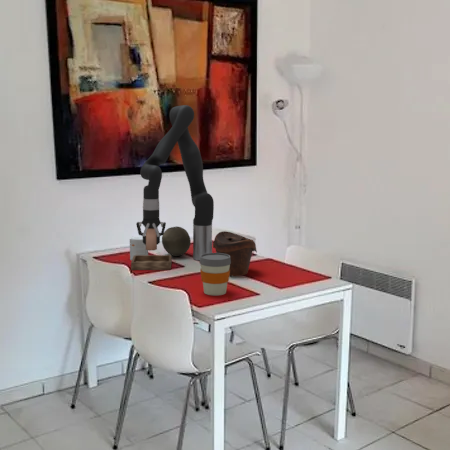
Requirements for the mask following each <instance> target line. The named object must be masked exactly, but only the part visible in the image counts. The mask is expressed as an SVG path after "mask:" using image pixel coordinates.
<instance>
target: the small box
mask: <svg viewBox="0 0 450 450" xmlns="http://www.w3.org/2000/svg"><path fill="white" fill-rule="evenodd" d="M134 255H149V250H146V244H144V243H143V236H132V237H130V238H129V260H130V261H132V259H133V256H134Z"/></svg>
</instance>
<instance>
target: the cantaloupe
mask: <svg viewBox="0 0 450 450" xmlns="http://www.w3.org/2000/svg"><path fill="white" fill-rule="evenodd" d="M191 242H192V241H191V237H190V235H189V232H188V231H187V230H186V229H185V228H184V227H181V226H170V227H168V228H166V229H165V230H164V234H163V235H162V236H161V243H162V247H163V249H164V251H165V252H166V253H167V254H168V255H172V256H174V257H180V256H183V255H184V254H186V253H187V252H188V251H189V249H190V247H191Z"/></svg>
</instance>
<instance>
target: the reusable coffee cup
mask: <svg viewBox="0 0 450 450" xmlns="http://www.w3.org/2000/svg"><path fill="white" fill-rule="evenodd" d="M199 264H200V271H199V272H200V278H201V279H200V281H201V282H202V286H203V287H202V288H203V293H204V294H205V295H208V296H222V295H225V294H227V288H228V282H229V281H230V280H229V279H230V276H229V275H230V269H229V268H230V264H231V259H230V255H228V254H224V253H216V252H212V253H206V254H202V255H201V256H200V261H199Z"/></svg>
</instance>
